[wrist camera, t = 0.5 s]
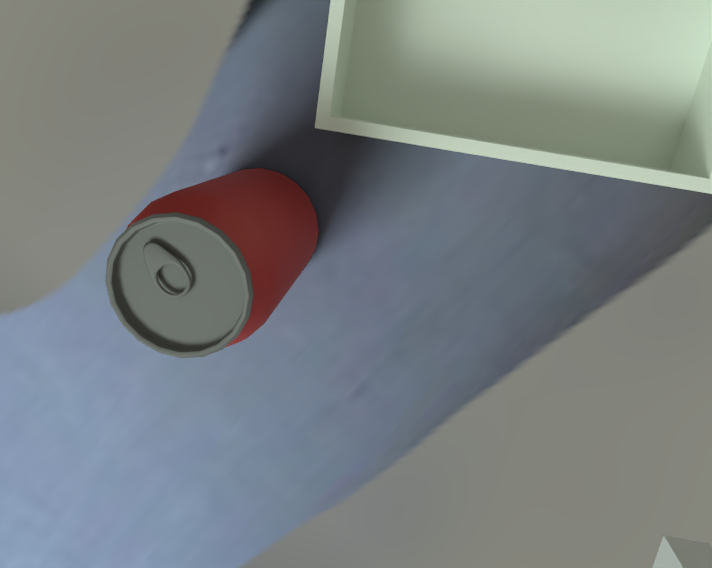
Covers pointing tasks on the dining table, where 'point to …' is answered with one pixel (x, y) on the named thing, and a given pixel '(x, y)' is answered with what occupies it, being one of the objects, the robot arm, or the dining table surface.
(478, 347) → the dining table surface
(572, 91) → the bin
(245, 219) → the beer can
